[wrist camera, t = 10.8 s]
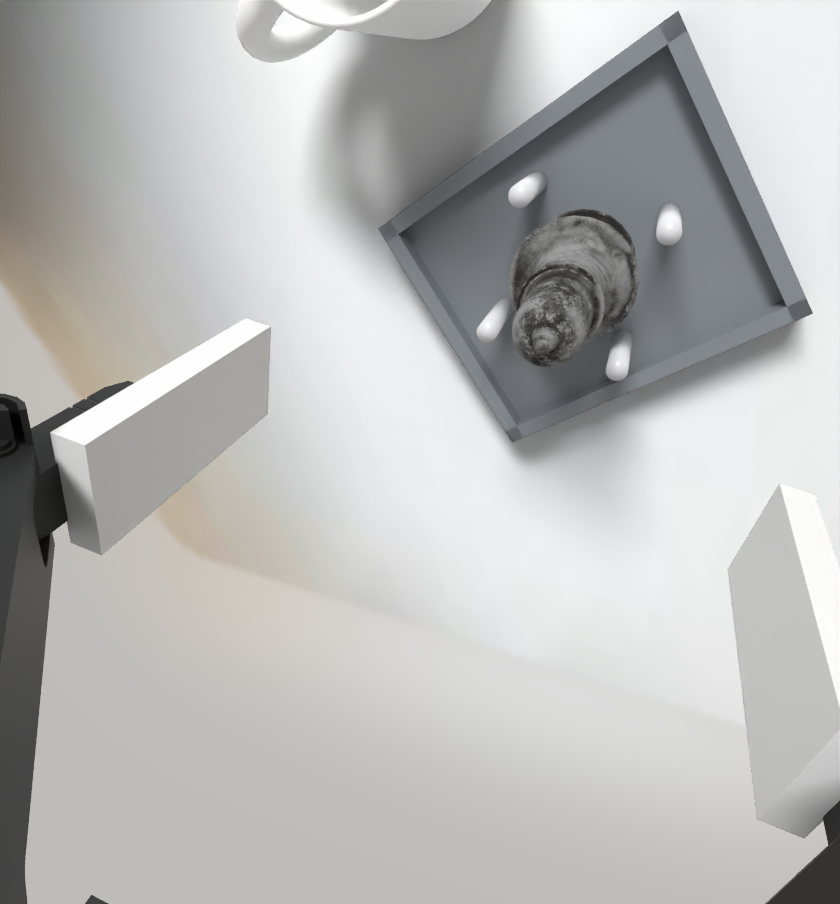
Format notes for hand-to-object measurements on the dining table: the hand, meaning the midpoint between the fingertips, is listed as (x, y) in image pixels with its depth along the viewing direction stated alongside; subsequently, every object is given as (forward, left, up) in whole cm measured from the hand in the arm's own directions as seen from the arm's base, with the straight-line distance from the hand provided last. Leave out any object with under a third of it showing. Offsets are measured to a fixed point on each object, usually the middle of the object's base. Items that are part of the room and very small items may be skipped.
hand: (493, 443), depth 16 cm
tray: (0, 0, -21) cm, 21 cm away
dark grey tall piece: (0, 0, -20) cm, 20 cm away
